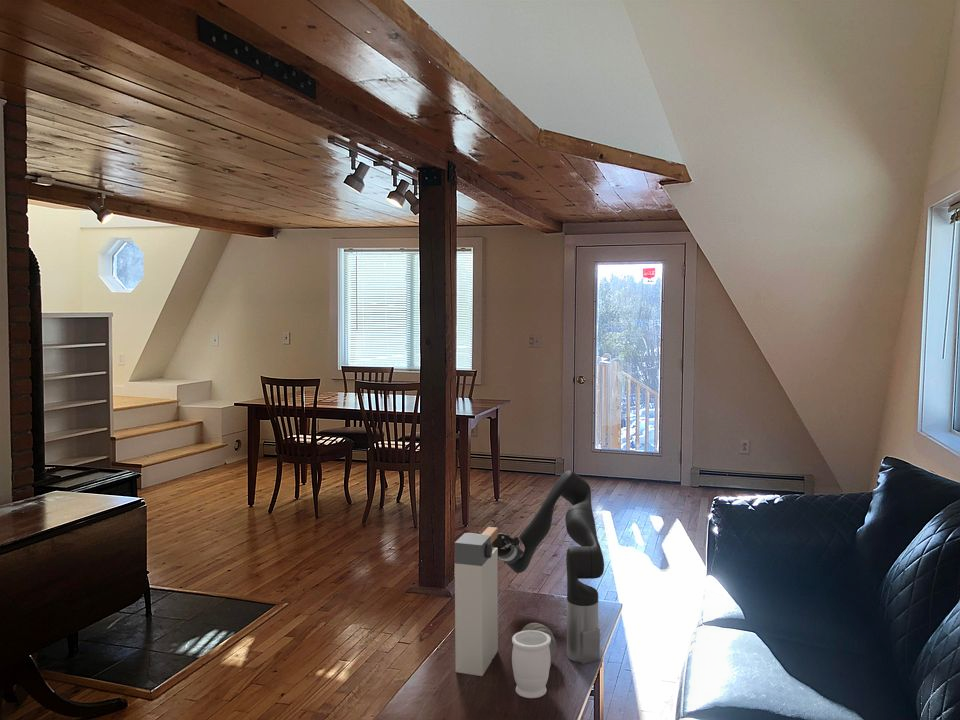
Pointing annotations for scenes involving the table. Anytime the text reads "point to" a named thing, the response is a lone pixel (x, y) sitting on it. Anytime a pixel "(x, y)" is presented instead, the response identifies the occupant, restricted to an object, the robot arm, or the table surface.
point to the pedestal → (475, 603)
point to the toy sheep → (546, 630)
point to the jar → (531, 662)
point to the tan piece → (491, 533)
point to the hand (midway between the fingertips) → (491, 536)
